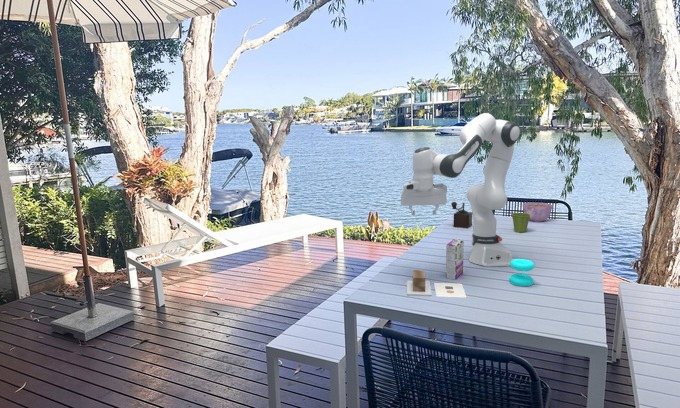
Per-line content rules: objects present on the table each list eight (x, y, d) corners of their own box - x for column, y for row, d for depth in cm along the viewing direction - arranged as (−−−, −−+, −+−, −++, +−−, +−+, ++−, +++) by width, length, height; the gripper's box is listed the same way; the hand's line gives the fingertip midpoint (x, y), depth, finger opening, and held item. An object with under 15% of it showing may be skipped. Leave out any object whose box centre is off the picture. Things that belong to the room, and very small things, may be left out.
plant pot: (531, 230, 289) (532, 213, 287) (528, 234, 279) (529, 217, 277) (512, 228, 295) (513, 212, 293) (508, 232, 286) (509, 215, 284)
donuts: (538, 264, 189) (514, 265, 189) (537, 287, 190) (513, 287, 191) (529, 257, 198) (506, 258, 199) (528, 279, 200) (505, 279, 200)
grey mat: (429, 283, 197) (429, 281, 197) (431, 296, 182) (431, 294, 182) (406, 282, 199) (406, 280, 199) (406, 296, 183) (407, 293, 183)
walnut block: (424, 283, 195) (424, 270, 194) (425, 291, 185) (425, 278, 184) (412, 283, 195) (412, 270, 194) (413, 291, 186) (413, 277, 185)
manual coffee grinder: (456, 223, 313) (457, 198, 310) (472, 225, 307) (473, 199, 304) (449, 228, 300) (450, 202, 297) (465, 230, 294) (466, 203, 291)
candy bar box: (453, 271, 212) (453, 238, 209) (463, 273, 210) (464, 239, 207) (445, 278, 203) (446, 244, 200) (456, 280, 200) (456, 245, 197)
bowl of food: (525, 223, 310) (526, 207, 308) (518, 217, 329) (519, 202, 327) (555, 223, 306) (556, 207, 304) (547, 217, 326) (548, 202, 324)
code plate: (461, 284, 195) (461, 283, 195) (466, 298, 180) (466, 297, 180) (434, 283, 197) (434, 282, 197) (436, 297, 181) (436, 296, 181)
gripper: (446, 182, 198) (446, 212, 201) (400, 184, 201) (401, 213, 204) (447, 184, 192) (448, 215, 195) (400, 186, 195) (401, 216, 198)
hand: (423, 214), depth 199 cm, fingers open, 8 cm apart
